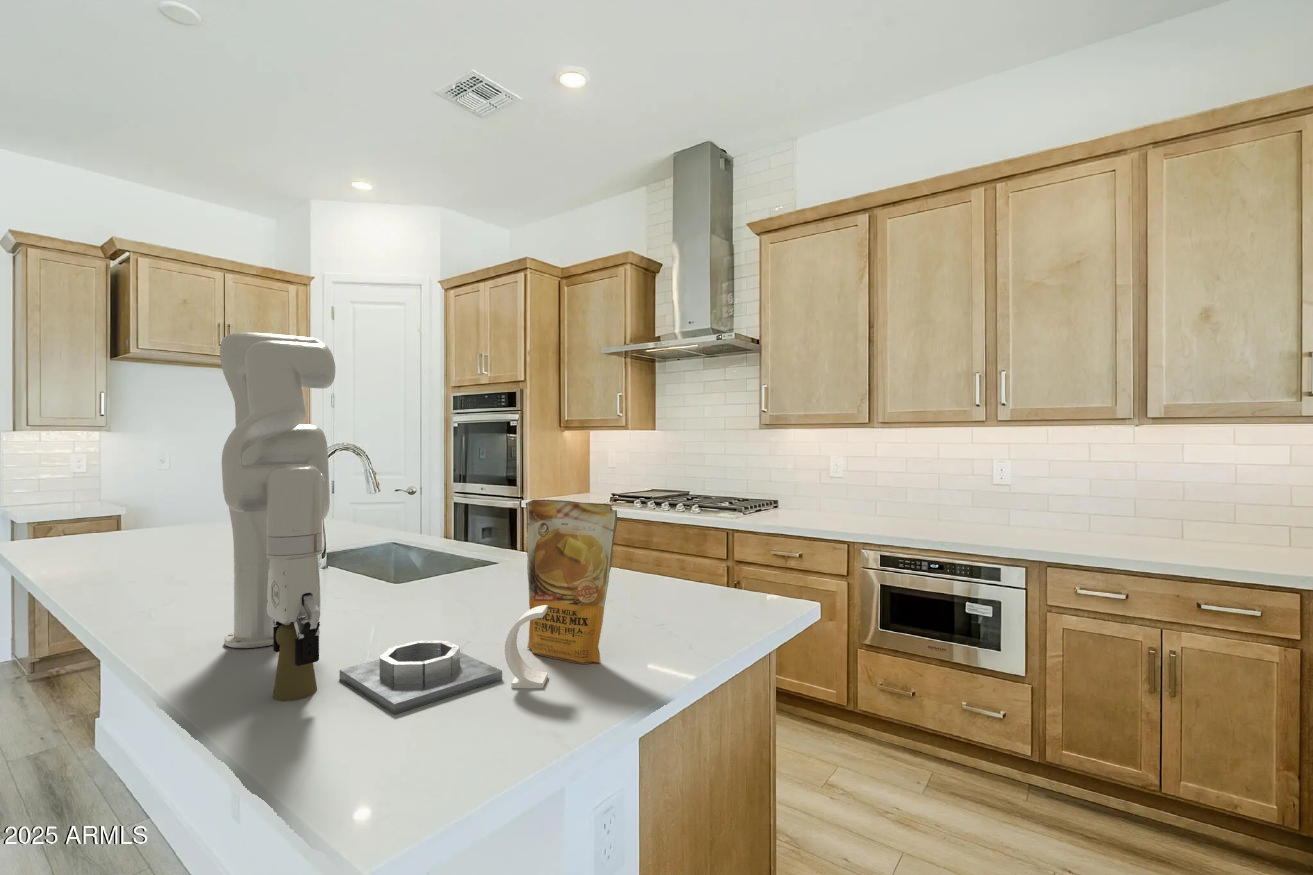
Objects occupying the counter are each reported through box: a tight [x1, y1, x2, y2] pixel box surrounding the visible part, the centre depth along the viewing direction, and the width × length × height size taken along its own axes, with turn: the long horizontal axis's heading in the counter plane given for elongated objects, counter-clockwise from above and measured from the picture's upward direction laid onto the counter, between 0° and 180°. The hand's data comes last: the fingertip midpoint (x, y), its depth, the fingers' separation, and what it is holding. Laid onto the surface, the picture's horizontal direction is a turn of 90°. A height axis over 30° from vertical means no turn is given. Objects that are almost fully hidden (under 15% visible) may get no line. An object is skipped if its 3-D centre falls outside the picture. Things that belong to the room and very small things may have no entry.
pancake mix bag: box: [525, 499, 618, 665], centre depth 118 cm, size 7×19×28 cm, turn 61°
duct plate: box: [339, 640, 503, 715], centre depth 106 cm, size 20×18×4 cm
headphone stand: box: [504, 605, 549, 689], centre depth 104 cm, size 5×6×12 cm
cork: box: [272, 622, 318, 702], centre depth 100 cm, size 6×6×11 cm
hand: (295, 656), depth 100 cm, fingers open, 9 cm apart
